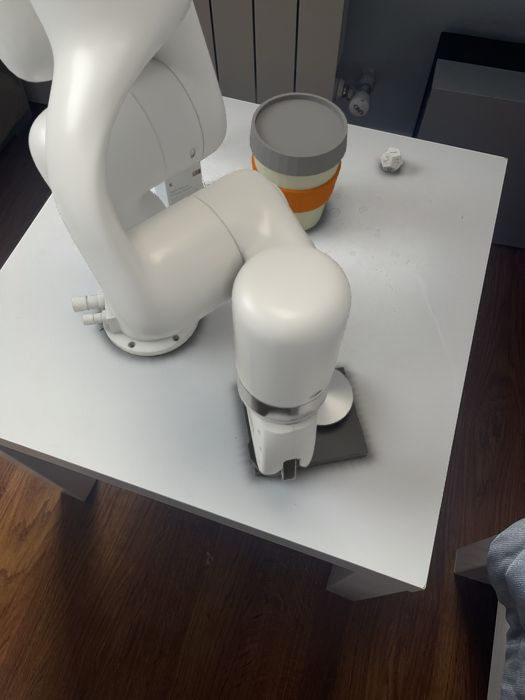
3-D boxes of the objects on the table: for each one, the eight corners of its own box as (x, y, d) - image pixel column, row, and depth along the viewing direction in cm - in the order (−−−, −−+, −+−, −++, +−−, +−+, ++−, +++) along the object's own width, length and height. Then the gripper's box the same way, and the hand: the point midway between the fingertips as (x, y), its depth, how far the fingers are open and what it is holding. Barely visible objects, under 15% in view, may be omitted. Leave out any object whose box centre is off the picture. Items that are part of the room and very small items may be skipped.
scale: (253, 484, 60) (253, 476, 57) (236, 389, 66) (235, 378, 63) (368, 463, 61) (373, 455, 59) (341, 371, 67) (345, 360, 64)
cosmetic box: (171, 216, 79) (158, 149, 68) (155, 198, 81) (140, 130, 70) (206, 198, 81) (199, 130, 70) (190, 181, 82) (181, 112, 72)
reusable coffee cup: (302, 256, 76) (312, 174, 62) (232, 214, 79) (228, 129, 66) (350, 203, 81) (369, 117, 67) (282, 167, 84) (288, 78, 71)
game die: (376, 159, 85) (380, 144, 83) (399, 159, 85) (404, 144, 83) (379, 175, 84) (383, 160, 81) (403, 175, 84) (407, 160, 81)
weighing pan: (294, 431, 60) (295, 430, 59) (281, 371, 63) (281, 369, 63) (360, 420, 61) (361, 418, 60) (343, 361, 64) (343, 359, 64)
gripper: (223, 303, 46) (231, 392, 62) (253, 472, 39) (254, 524, 55) (308, 290, 47) (295, 382, 63) (354, 454, 40) (325, 510, 56)
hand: (276, 448), depth 59 cm, fingers closed
